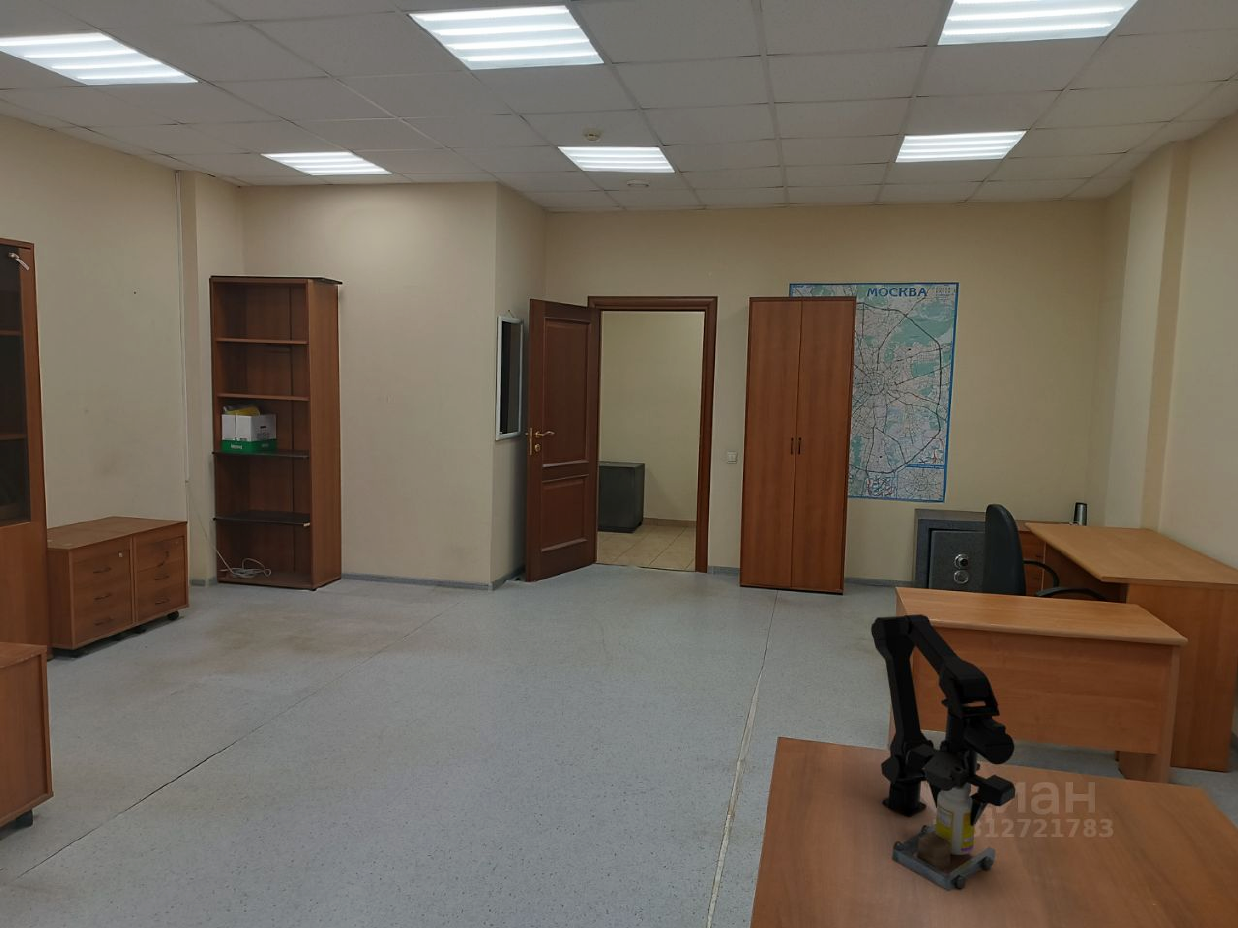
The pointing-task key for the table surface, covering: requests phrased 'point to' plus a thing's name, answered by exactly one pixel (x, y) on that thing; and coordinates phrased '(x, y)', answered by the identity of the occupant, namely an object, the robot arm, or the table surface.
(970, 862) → the grey metal u-shaped frame
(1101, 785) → the table surface
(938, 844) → the brown block
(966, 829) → the supplement bottle
